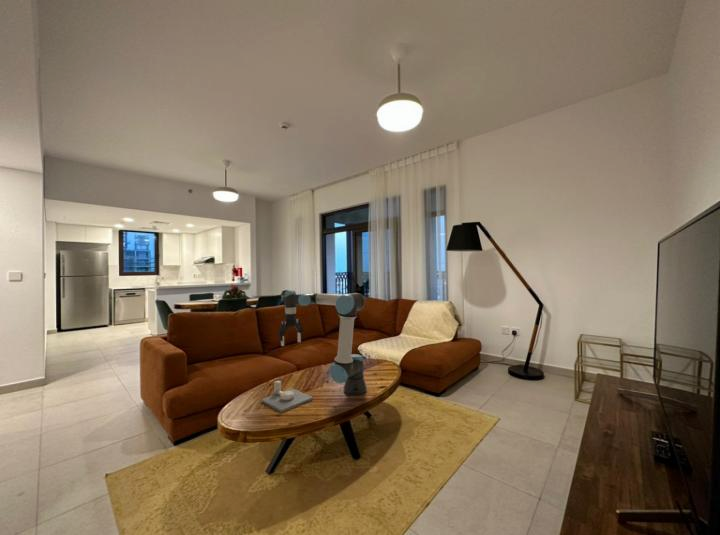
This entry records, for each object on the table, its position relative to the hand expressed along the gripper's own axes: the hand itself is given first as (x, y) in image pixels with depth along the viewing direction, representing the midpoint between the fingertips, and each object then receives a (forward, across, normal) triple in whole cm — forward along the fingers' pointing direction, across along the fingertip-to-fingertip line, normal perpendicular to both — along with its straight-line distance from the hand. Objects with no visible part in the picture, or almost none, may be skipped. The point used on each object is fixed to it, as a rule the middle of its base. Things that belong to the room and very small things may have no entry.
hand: (291, 343), depth 199 cm
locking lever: (+27, +16, +14) cm, 34 cm away
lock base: (+29, +16, +19) cm, 38 cm away
